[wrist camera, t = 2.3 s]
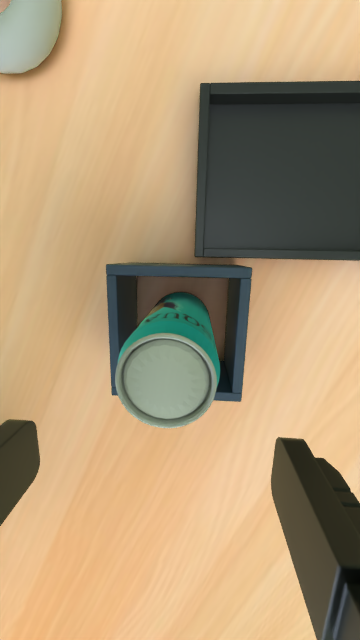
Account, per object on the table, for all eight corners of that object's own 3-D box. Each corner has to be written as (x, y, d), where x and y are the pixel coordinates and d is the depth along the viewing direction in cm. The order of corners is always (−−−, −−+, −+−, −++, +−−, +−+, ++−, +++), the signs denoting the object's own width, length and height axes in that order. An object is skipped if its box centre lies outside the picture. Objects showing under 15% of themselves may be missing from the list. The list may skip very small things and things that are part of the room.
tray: (194, 256, 26) (194, 256, 24) (199, 97, 23) (200, 82, 21) (377, 260, 25) (392, 261, 23) (409, 95, 22) (430, 79, 20)
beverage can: (181, 278, 27) (163, 303, 12) (220, 317, 27) (247, 385, 13) (143, 316, 28) (85, 382, 13) (181, 353, 29) (166, 453, 14)
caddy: (131, 363, 29) (111, 395, 22) (128, 262, 27) (105, 264, 20) (230, 367, 29) (241, 402, 22) (237, 265, 26) (252, 267, 19)
